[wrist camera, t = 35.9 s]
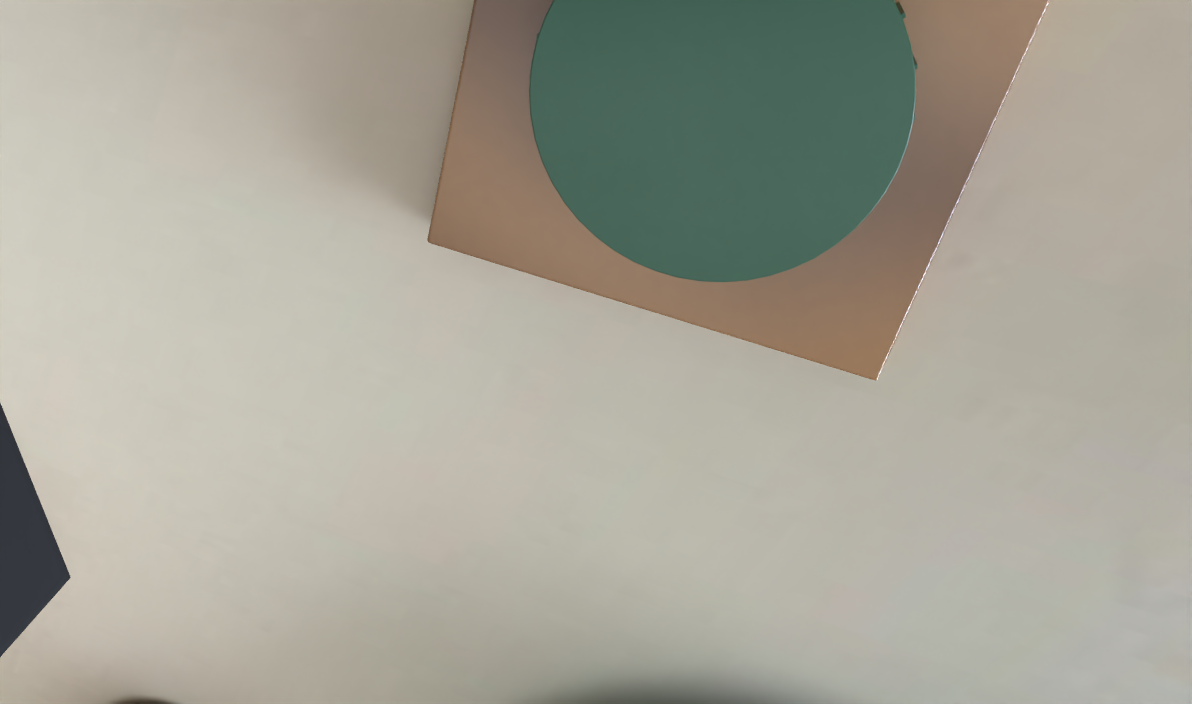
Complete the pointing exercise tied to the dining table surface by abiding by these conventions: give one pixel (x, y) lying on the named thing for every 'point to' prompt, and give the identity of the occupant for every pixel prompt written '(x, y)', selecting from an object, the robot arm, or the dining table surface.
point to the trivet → (759, 306)
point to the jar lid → (722, 125)
